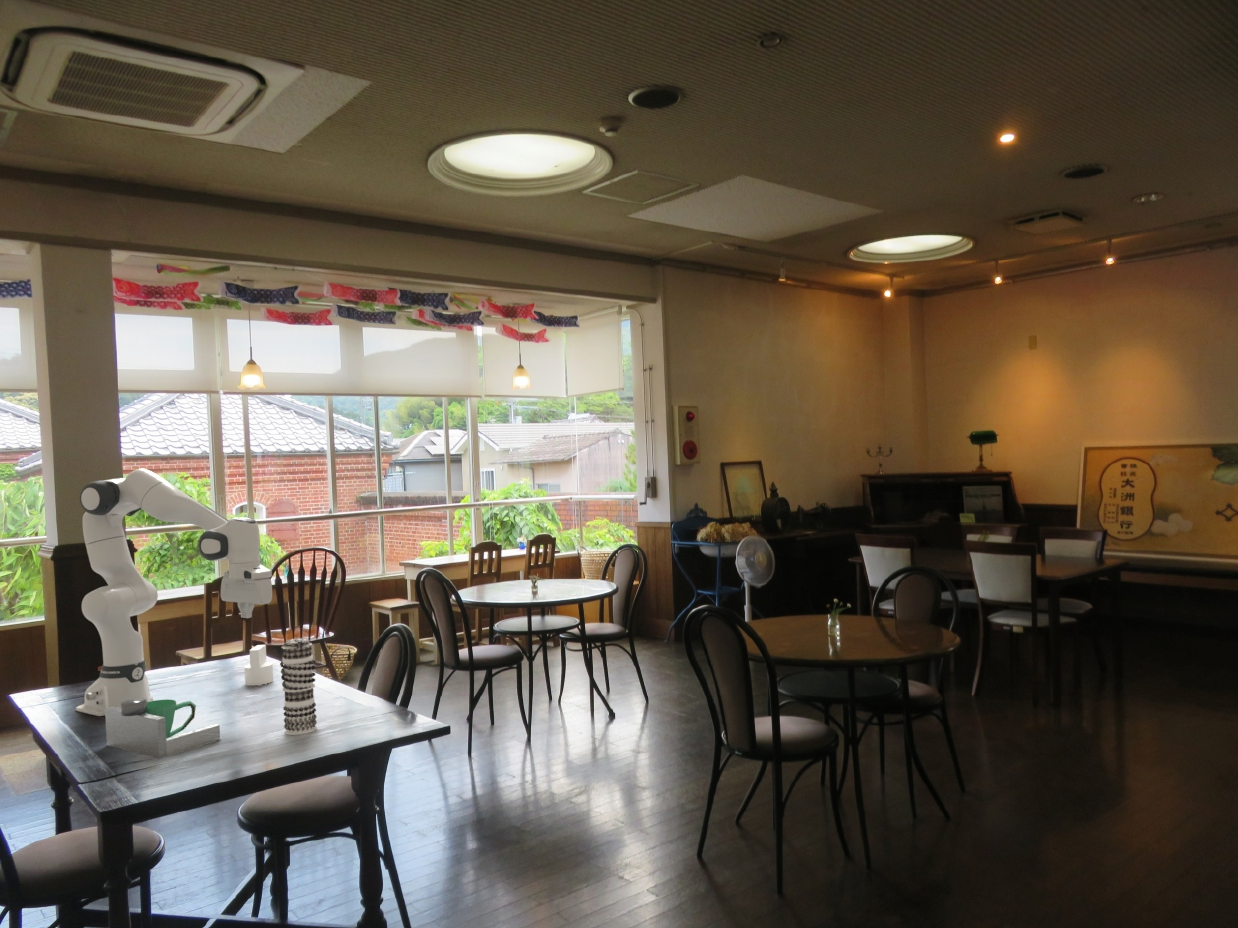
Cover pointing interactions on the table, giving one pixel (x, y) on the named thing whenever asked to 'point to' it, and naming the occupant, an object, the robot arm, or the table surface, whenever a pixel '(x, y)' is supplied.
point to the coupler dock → (150, 731)
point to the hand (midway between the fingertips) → (246, 617)
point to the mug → (170, 713)
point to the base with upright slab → (258, 667)
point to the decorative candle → (298, 687)
